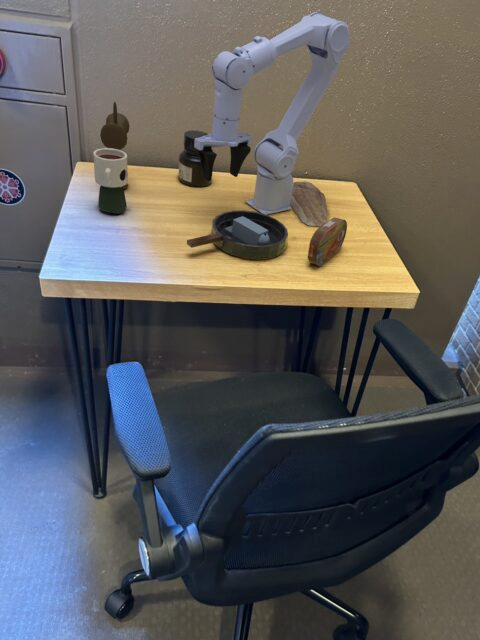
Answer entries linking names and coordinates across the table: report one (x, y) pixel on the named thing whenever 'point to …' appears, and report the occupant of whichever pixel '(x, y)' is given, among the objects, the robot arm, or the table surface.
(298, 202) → the fish fossil
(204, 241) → the pan handle
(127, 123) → the kendama
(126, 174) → the character mug
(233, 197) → the table surface
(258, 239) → the grey flat-sided piece
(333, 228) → the tin
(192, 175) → the ink bottle
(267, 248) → the pan
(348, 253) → the table surface
